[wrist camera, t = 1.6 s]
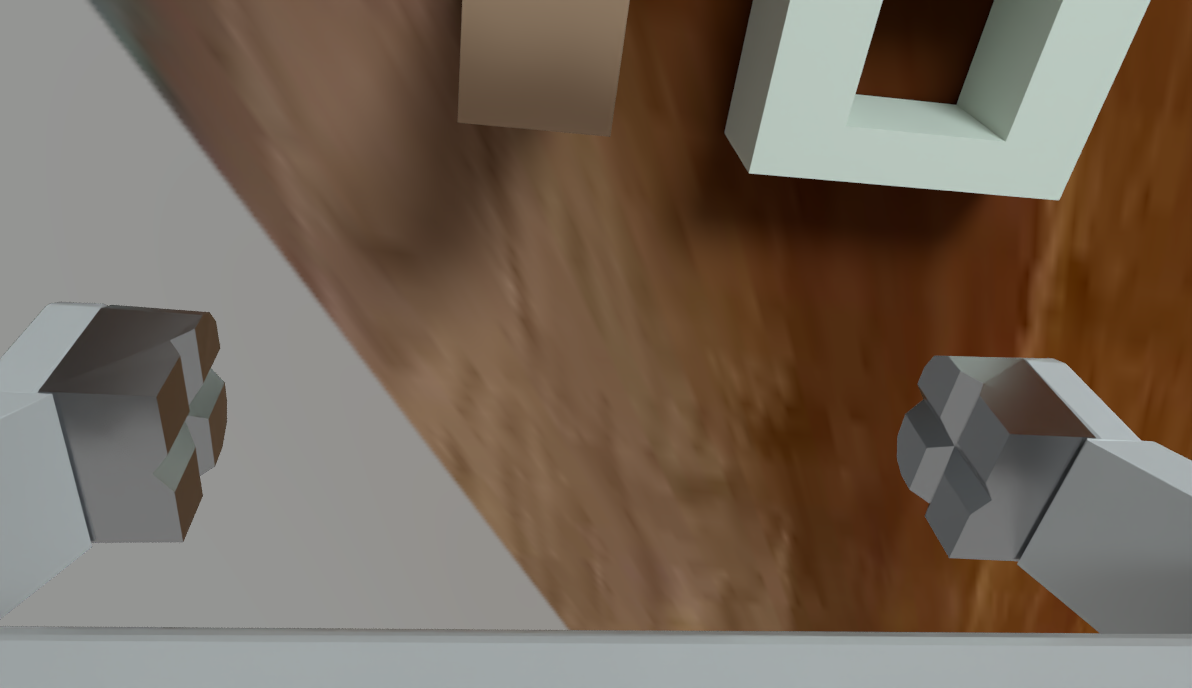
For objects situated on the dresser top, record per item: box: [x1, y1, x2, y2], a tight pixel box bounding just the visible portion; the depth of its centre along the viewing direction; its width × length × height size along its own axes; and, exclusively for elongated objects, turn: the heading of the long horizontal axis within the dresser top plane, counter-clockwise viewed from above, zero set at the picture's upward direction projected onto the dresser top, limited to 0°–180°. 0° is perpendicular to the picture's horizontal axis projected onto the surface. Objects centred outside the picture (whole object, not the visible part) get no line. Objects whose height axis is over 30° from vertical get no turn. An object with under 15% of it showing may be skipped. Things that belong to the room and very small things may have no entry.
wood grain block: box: [457, 0, 630, 137], centre depth 26 cm, size 4×4×10 cm
